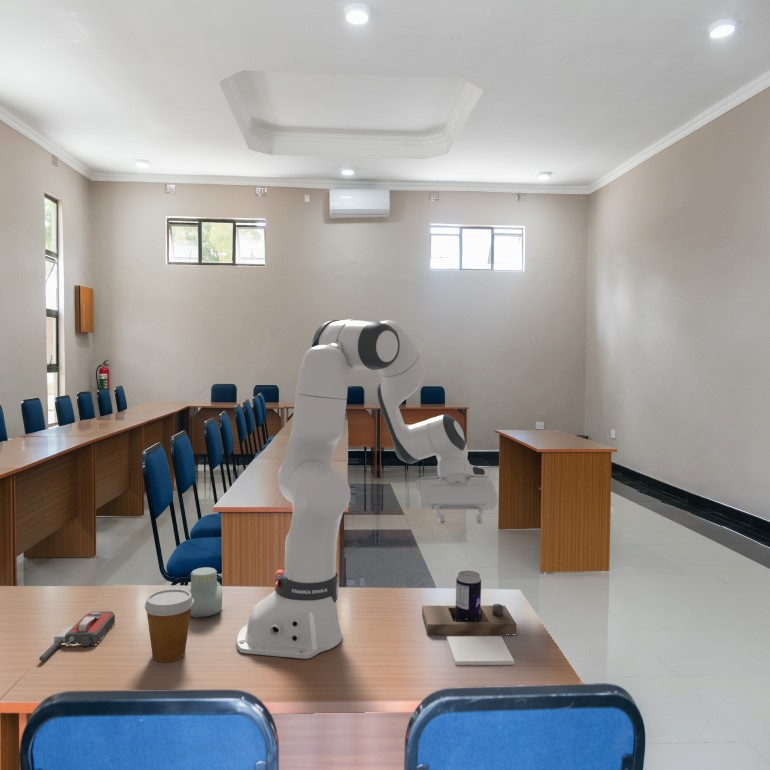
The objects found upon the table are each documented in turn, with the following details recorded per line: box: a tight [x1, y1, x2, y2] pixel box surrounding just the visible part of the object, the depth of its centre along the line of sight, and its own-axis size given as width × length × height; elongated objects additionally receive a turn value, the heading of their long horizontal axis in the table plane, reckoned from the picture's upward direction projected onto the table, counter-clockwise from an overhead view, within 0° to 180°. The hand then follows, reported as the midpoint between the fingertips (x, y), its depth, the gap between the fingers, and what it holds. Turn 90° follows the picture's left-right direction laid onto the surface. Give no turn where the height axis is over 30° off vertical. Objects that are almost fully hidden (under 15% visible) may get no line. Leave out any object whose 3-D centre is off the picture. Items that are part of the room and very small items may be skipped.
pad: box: [446, 635, 515, 666], centre depth 129 cm, size 12×11×1 cm
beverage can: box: [454, 570, 482, 622], centre depth 142 cm, size 6×6×12 cm
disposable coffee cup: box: [143, 588, 194, 663], centre depth 125 cm, size 10×10×12 cm
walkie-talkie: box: [38, 610, 116, 662], centre depth 130 cm, size 9×4×20 cm
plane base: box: [421, 603, 517, 636], centre depth 142 cm, size 20×10×4 cm, turn 93°
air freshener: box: [186, 566, 223, 618], centre depth 146 cm, size 11×8×10 cm
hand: (460, 522), depth 154 cm, fingers open, 8 cm apart
